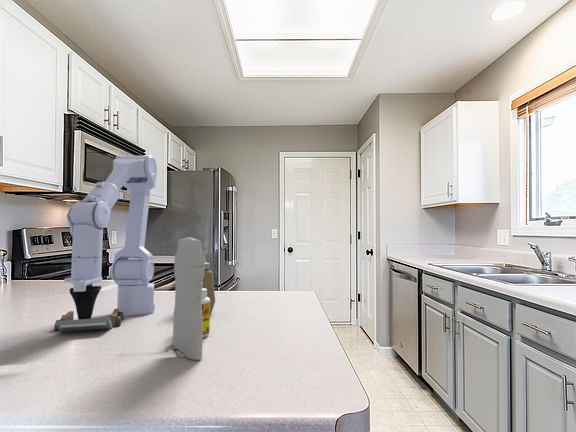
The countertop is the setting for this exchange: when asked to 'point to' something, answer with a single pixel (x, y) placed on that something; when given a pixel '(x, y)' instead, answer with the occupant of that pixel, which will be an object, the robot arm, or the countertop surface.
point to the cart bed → (115, 318)
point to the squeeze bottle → (209, 283)
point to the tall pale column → (188, 299)
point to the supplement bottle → (205, 313)
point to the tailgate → (84, 324)
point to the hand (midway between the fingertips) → (84, 321)
